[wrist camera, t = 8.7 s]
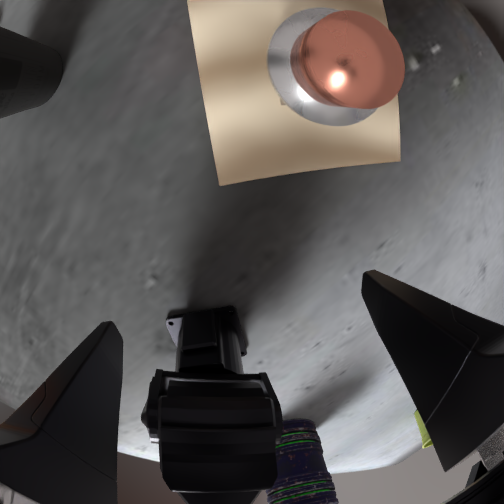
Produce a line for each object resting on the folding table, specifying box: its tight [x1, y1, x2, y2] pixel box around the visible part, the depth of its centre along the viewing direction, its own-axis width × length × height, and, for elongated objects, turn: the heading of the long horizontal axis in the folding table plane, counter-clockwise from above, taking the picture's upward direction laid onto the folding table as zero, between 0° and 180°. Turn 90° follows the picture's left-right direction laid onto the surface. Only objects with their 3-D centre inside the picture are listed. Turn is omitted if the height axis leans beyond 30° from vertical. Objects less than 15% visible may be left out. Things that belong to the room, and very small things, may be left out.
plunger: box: [266, 7, 405, 126], centre depth 13 cm, size 7×7×7 cm
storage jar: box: [266, 419, 339, 504], centre depth 33 cm, size 10×10×15 cm
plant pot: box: [414, 410, 433, 448], centre depth 43 cm, size 9×9×9 cm
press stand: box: [187, 0, 400, 186], centre depth 15 cm, size 14×14×4 cm
